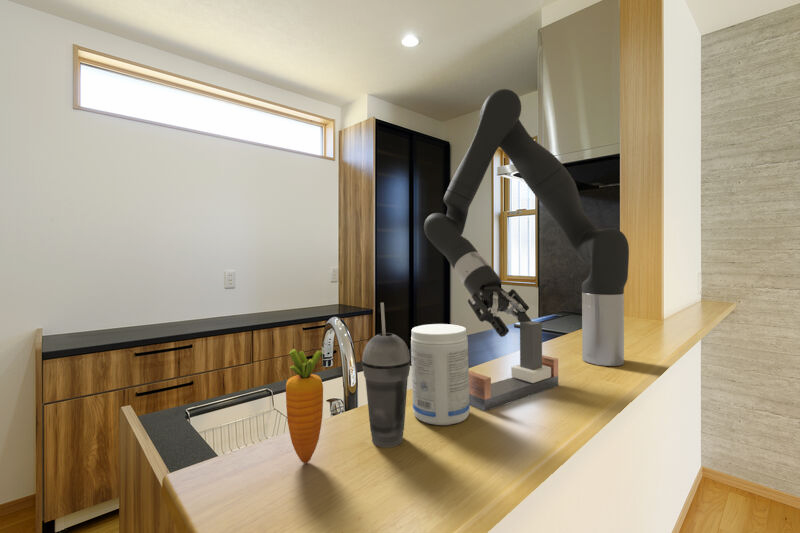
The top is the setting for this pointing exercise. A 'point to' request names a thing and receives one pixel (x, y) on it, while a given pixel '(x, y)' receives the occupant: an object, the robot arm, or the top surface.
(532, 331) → the block
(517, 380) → the rail
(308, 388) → the carrot
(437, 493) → the top surface
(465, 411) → the supplement tub
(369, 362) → the beverage cup
